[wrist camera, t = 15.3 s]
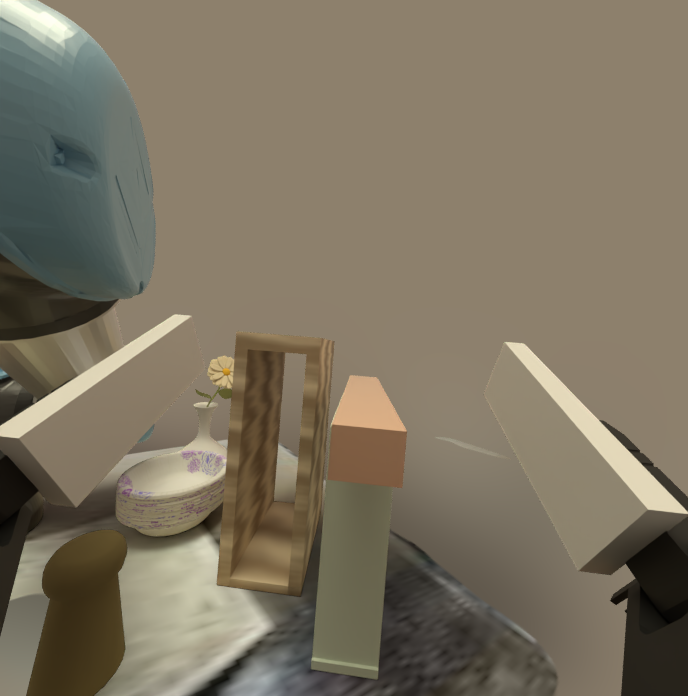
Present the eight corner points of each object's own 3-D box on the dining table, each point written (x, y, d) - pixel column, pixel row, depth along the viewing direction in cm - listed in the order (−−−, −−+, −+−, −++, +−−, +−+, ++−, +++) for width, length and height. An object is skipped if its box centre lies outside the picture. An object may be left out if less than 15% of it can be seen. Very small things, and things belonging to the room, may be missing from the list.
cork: (141, 634, 26) (150, 521, 26) (80, 722, 20) (92, 574, 20) (78, 630, 26) (87, 516, 26) (-2, 716, 20) (9, 568, 20)
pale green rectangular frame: (377, 679, 24) (397, 432, 24) (310, 669, 24) (330, 426, 24) (370, 539, 41) (382, 396, 41) (331, 534, 42) (343, 393, 42)
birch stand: (300, 596, 31) (320, 337, 31) (216, 584, 32) (236, 331, 32) (320, 512, 47) (334, 341, 47) (264, 505, 48) (278, 336, 48)
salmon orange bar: (402, 488, 14) (406, 431, 14) (327, 479, 14) (331, 424, 14) (375, 397, 40) (377, 377, 40) (348, 395, 40) (350, 375, 40)
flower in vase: (167, 481, 53) (177, 354, 53) (174, 458, 63) (182, 351, 63) (238, 472, 59) (247, 358, 59) (234, 452, 69) (242, 355, 69)
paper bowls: (82, 542, 36) (86, 484, 36) (168, 486, 52) (171, 444, 52) (185, 562, 35) (190, 501, 35) (243, 497, 50) (247, 455, 50)
